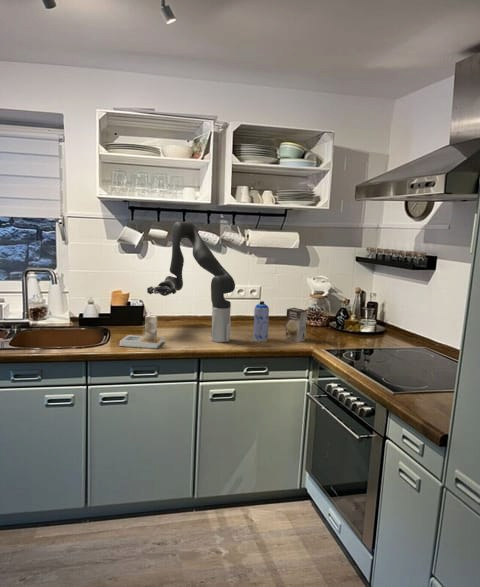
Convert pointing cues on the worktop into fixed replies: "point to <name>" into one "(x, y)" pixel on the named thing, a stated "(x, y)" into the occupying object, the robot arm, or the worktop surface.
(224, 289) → the robot arm
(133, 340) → the grey flat block
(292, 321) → the coffee box
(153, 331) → the peg
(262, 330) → the aerosol can
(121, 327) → the worktop surface
